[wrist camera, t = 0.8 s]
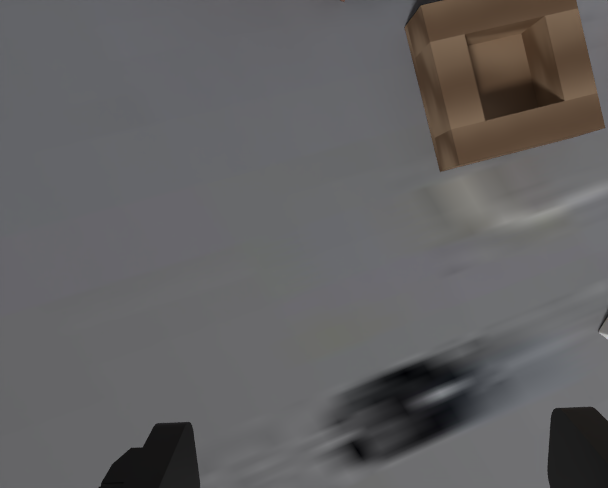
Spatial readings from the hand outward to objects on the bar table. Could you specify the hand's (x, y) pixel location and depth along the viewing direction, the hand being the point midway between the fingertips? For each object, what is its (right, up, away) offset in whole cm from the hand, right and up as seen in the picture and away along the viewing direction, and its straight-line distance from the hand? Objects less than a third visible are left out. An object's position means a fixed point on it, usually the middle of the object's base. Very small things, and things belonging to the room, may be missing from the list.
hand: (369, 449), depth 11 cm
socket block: (+13, +17, +26) cm, 34 cm away
